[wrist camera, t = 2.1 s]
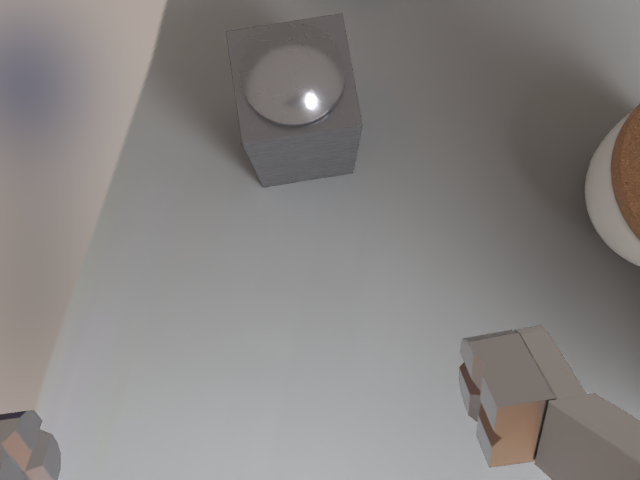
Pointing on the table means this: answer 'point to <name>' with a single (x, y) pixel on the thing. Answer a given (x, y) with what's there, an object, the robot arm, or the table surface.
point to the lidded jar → (617, 188)
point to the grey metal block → (296, 99)
